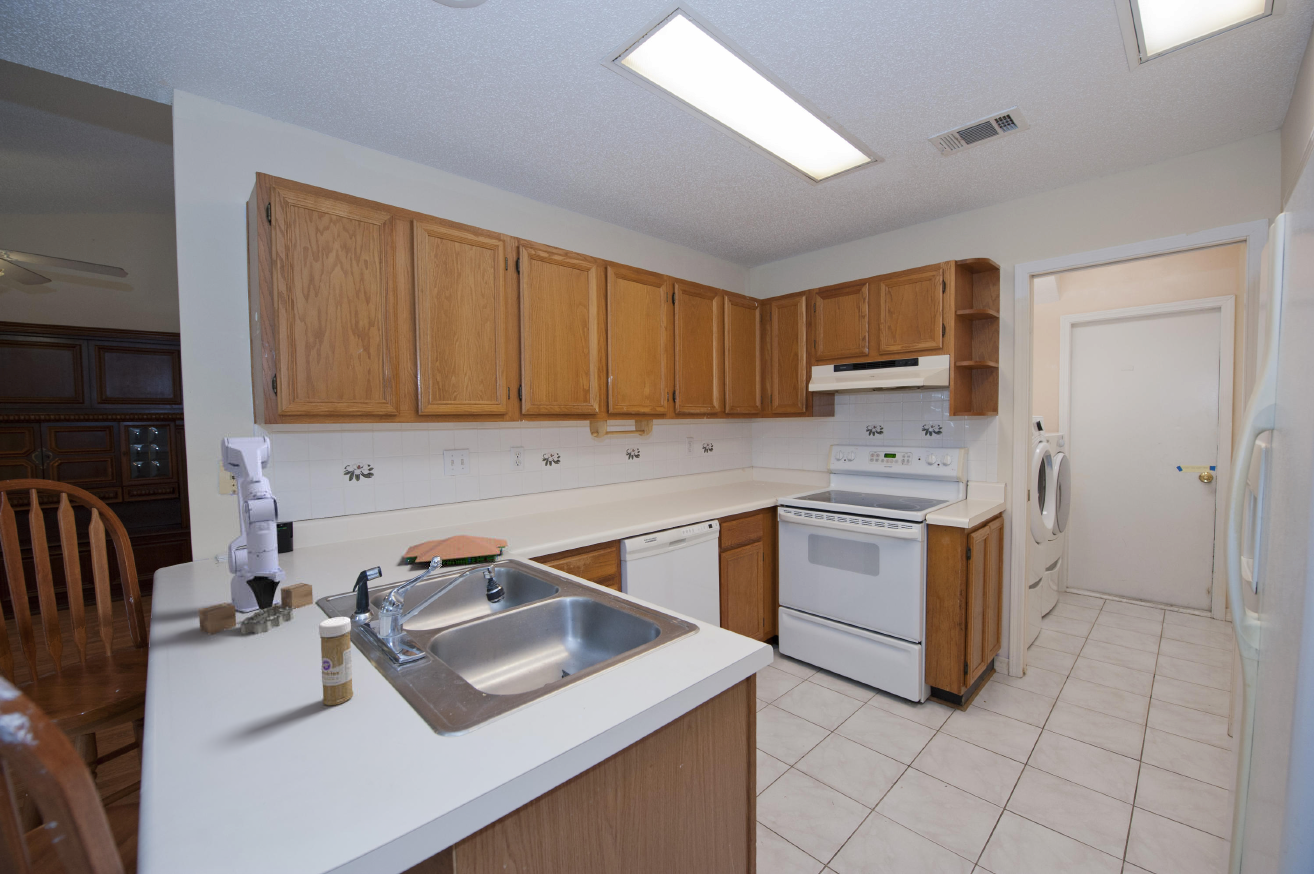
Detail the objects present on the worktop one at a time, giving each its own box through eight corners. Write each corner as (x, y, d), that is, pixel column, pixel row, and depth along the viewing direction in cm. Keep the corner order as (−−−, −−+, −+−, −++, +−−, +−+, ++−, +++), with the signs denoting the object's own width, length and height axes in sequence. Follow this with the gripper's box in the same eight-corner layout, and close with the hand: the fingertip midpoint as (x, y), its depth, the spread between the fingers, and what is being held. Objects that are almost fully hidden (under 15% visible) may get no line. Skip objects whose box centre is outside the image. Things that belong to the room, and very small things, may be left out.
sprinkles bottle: (316, 706, 88) (312, 626, 88) (333, 692, 93) (329, 616, 92) (344, 706, 88) (340, 625, 88) (359, 691, 93) (356, 615, 92)
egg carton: (273, 617, 132) (272, 601, 132) (300, 618, 131) (299, 601, 130) (233, 634, 121) (232, 616, 121) (262, 635, 120) (261, 617, 120)
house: (509, 562, 178) (508, 537, 178) (399, 573, 168) (398, 548, 167) (506, 546, 200) (505, 525, 199) (409, 556, 190) (408, 533, 189)
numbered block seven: (200, 630, 124) (198, 608, 123) (225, 623, 128) (224, 601, 128) (210, 634, 121) (209, 611, 121) (236, 626, 126) (235, 604, 125)
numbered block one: (281, 607, 138) (280, 587, 138) (302, 601, 143) (301, 581, 143) (292, 610, 136) (291, 589, 136) (312, 603, 140) (311, 584, 140)
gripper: (226, 551, 125) (230, 608, 126) (259, 557, 118) (262, 618, 119) (260, 544, 131) (263, 599, 132) (293, 550, 124) (296, 607, 125)
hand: (265, 607), depth 126 cm, fingers closed
